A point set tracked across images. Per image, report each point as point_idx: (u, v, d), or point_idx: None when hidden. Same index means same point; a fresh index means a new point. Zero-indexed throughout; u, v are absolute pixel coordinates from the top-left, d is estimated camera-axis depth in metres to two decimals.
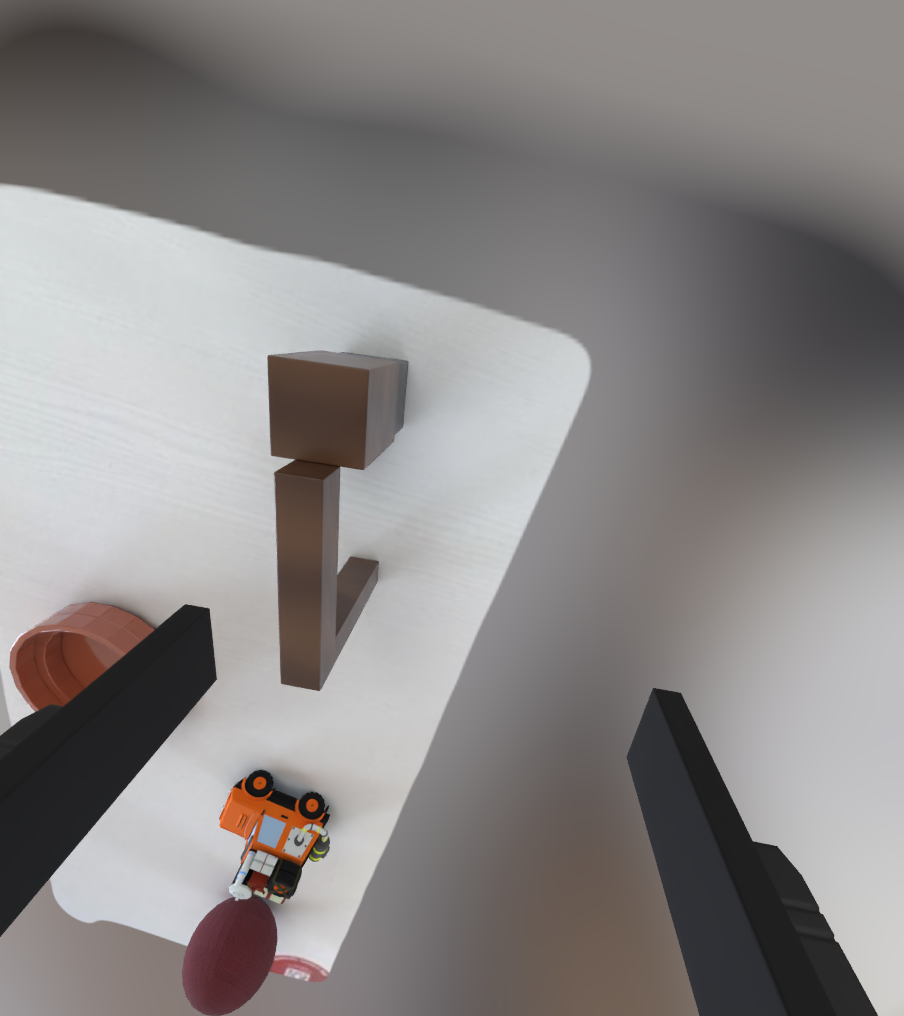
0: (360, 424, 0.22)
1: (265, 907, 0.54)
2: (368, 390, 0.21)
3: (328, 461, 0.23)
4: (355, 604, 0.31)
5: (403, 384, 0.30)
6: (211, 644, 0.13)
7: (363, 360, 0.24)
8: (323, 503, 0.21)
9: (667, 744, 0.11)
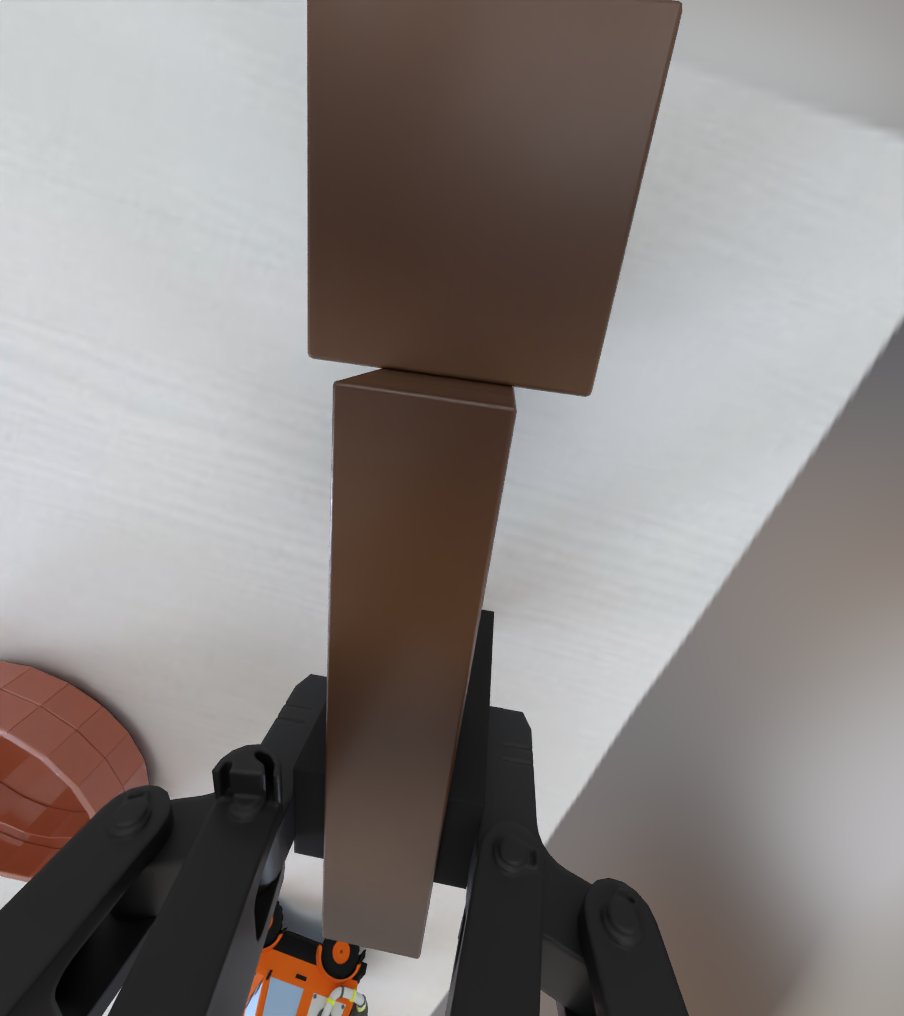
0: (609, 237, 0.07)
1: None
2: (661, 96, 0.06)
3: (482, 370, 0.07)
4: None
5: None
6: None
7: None
8: (501, 494, 0.06)
9: None
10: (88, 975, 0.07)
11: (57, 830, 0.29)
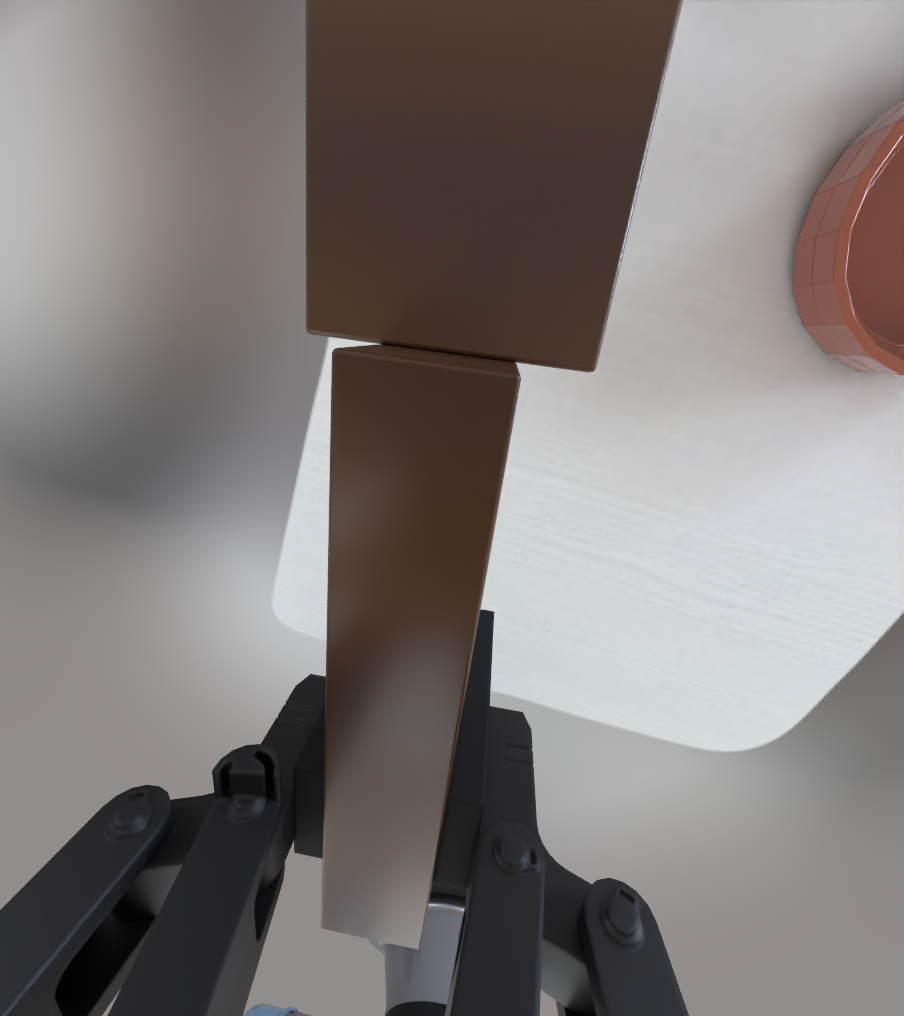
0: (614, 205, 0.06)
1: None
2: (669, 57, 0.06)
3: (485, 345, 0.07)
4: None
5: None
6: None
7: None
8: None
9: None
10: (88, 975, 0.07)
11: None
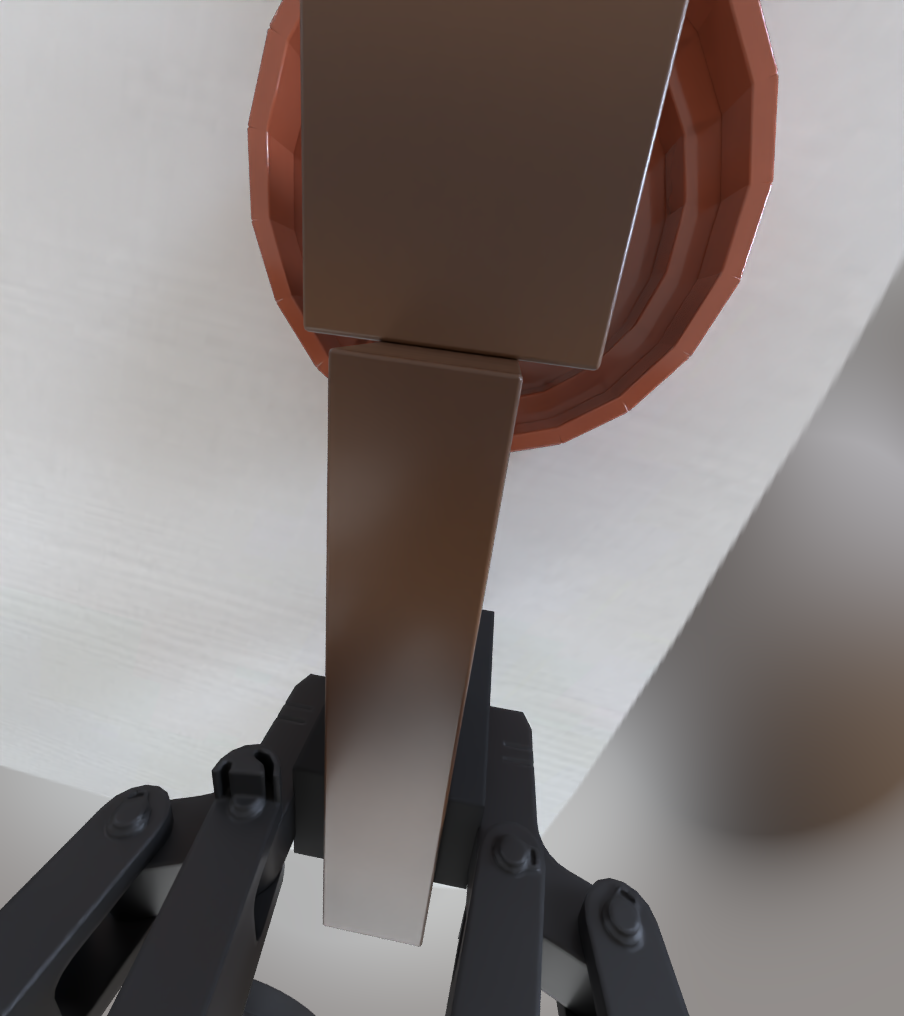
0: (620, 198, 0.06)
1: None
2: (677, 41, 0.06)
3: (486, 343, 0.07)
4: None
5: None
6: None
7: None
8: (506, 469, 0.06)
9: None
10: (87, 975, 0.07)
11: None
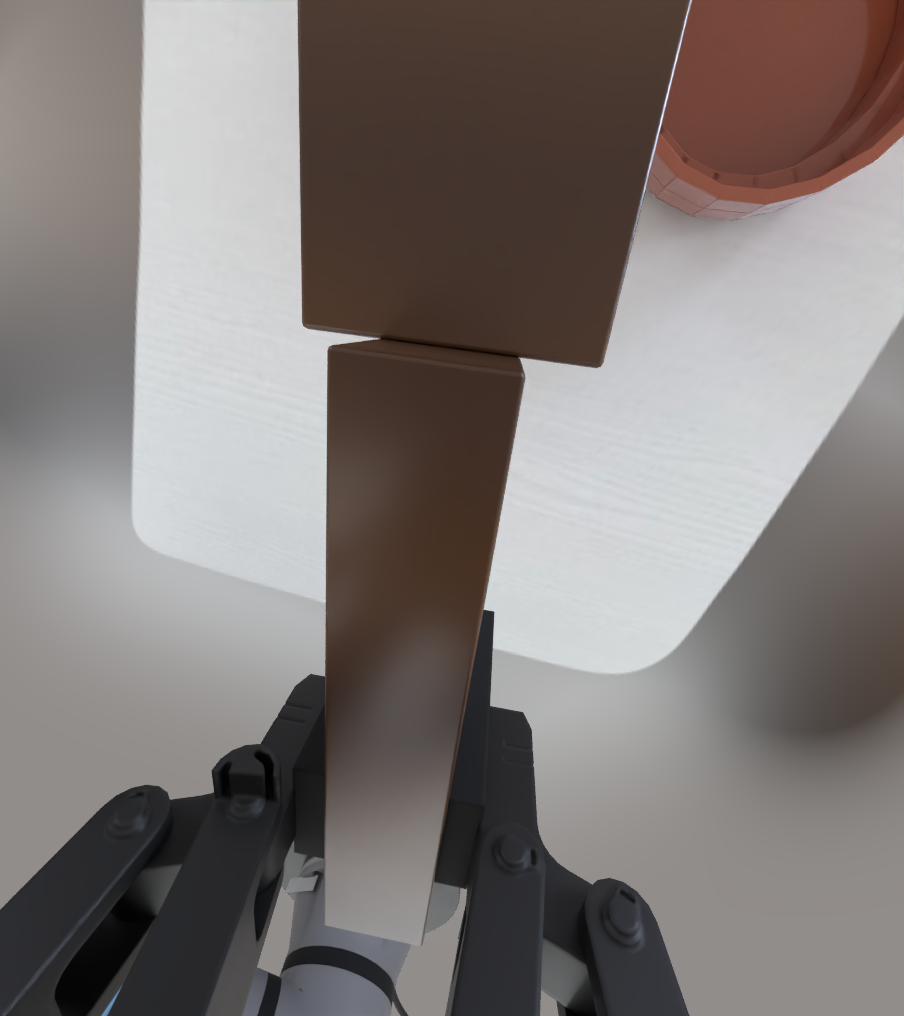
0: (624, 192, 0.06)
1: None
2: (684, 31, 0.05)
3: (487, 340, 0.07)
4: None
5: None
6: None
7: None
8: (508, 469, 0.06)
9: None
10: (88, 975, 0.07)
11: None
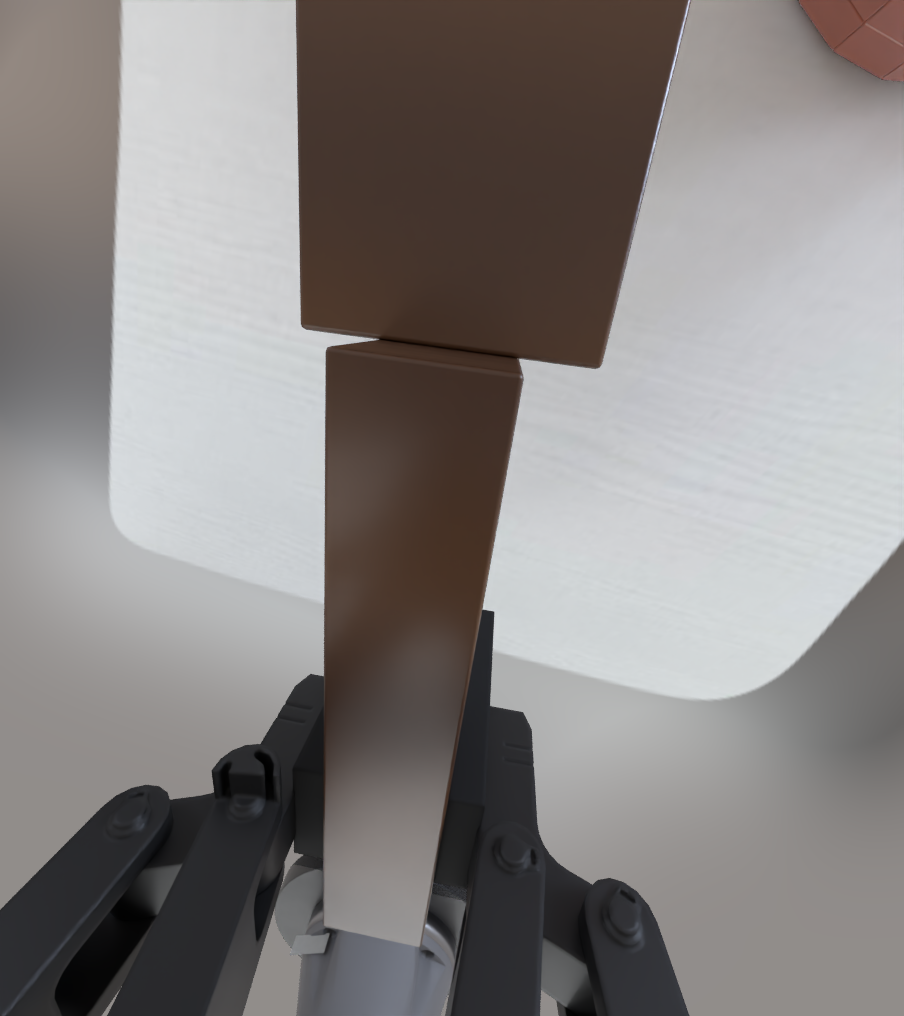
0: (622, 194, 0.06)
1: None
2: (682, 32, 0.05)
3: (486, 341, 0.07)
4: None
5: None
6: None
7: None
8: (506, 470, 0.06)
9: None
10: (87, 975, 0.07)
11: None
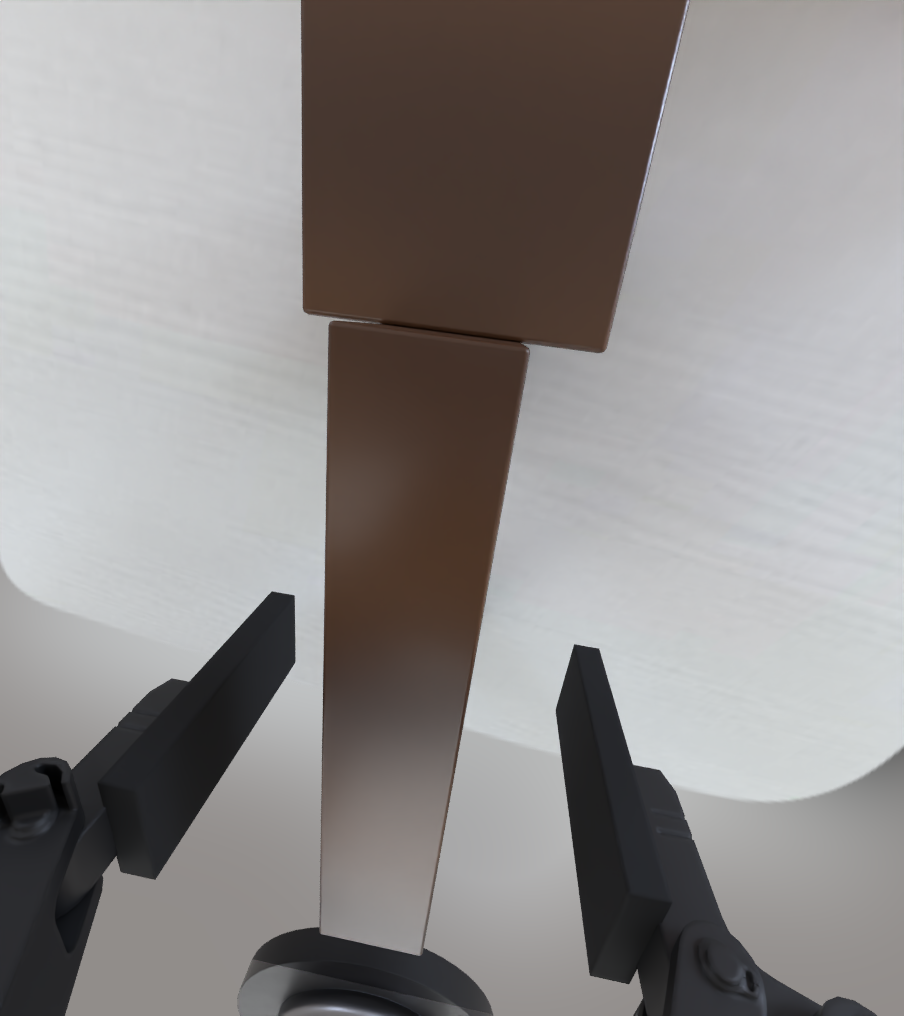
0: (627, 175, 0.06)
1: None
2: (686, 12, 0.05)
3: (490, 325, 0.07)
4: None
5: None
6: (293, 628, 0.15)
7: None
8: (512, 448, 0.06)
9: (578, 690, 0.12)
10: None
11: None
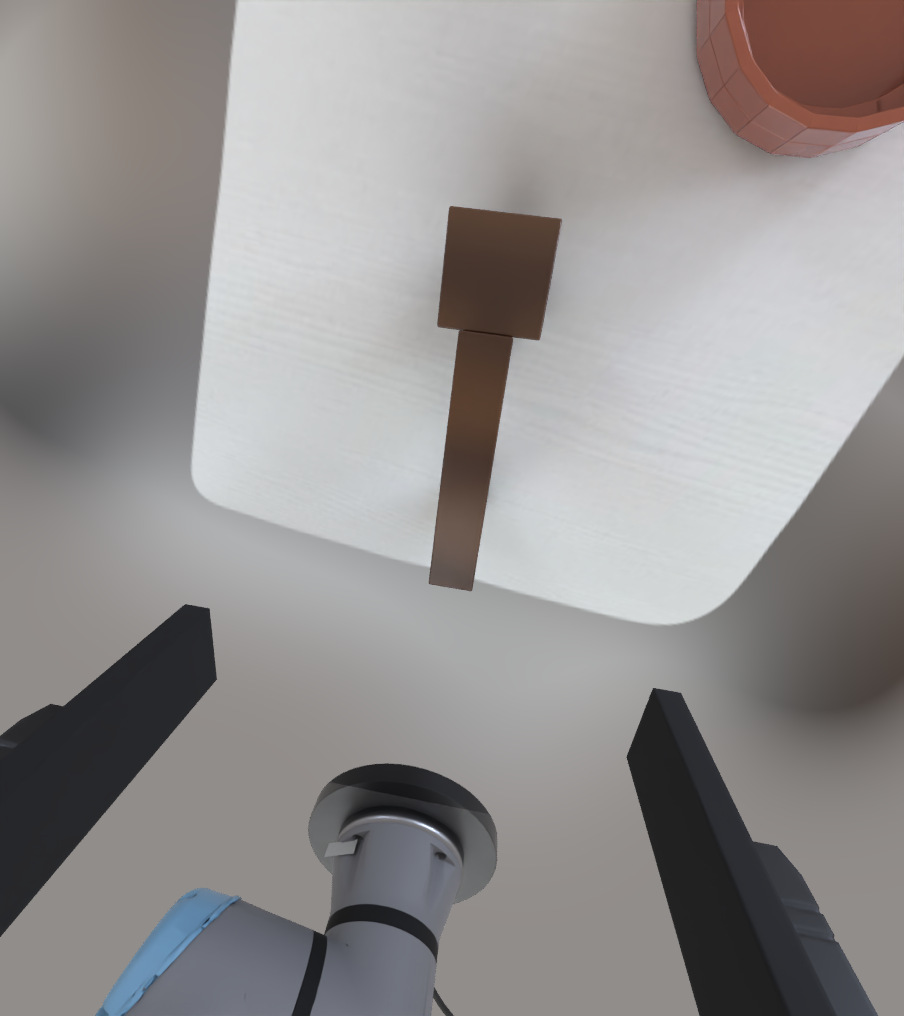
0: (543, 285, 0.20)
1: None
2: (557, 243, 0.20)
3: (501, 331, 0.21)
4: None
5: None
6: (211, 644, 0.13)
7: None
8: (508, 366, 0.20)
9: (667, 744, 0.11)
10: None
11: None
